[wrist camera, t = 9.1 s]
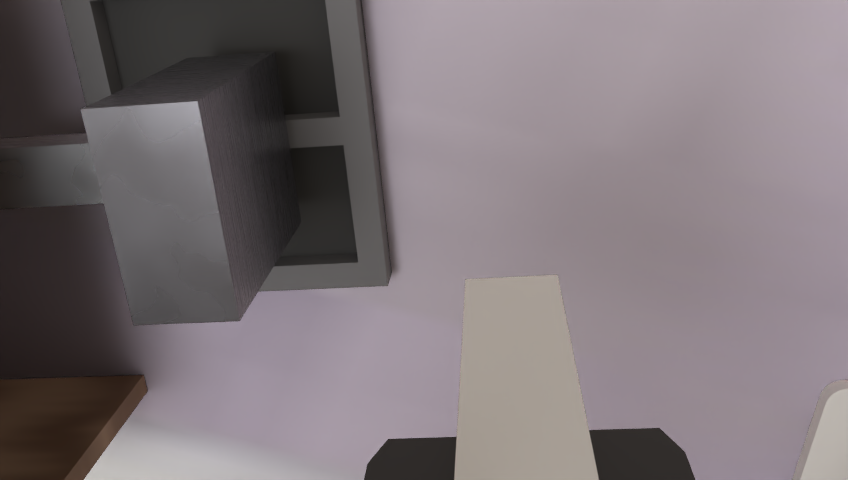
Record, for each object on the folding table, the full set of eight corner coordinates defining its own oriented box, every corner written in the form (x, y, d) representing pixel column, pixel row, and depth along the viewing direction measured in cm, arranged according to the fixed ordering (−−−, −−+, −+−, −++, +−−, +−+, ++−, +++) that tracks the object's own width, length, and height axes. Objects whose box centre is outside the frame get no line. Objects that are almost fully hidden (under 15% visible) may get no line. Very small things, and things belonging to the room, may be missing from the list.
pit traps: (145, 283, 33) (132, 296, 31) (71, -30, 28) (53, -28, 27) (391, 272, 32) (387, 286, 30) (355, -56, 27) (349, -55, 26)
